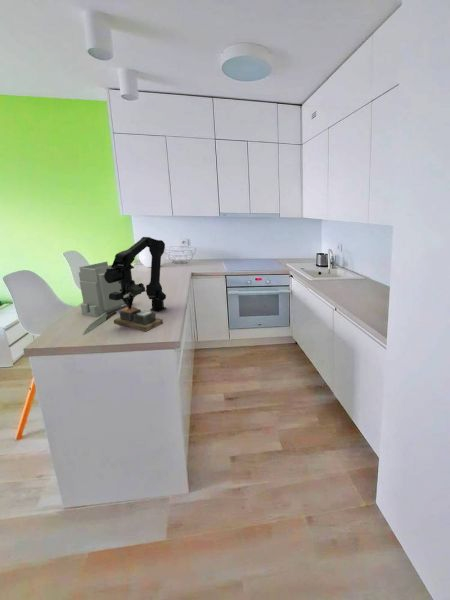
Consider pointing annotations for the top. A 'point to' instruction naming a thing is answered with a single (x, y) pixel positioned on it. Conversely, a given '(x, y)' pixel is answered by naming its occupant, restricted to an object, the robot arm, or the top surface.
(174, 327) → the top surface
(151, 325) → the button board
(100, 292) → the toaster
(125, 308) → the terracotta button
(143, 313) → the grey button
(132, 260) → the robot arm
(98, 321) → the kitchen knife
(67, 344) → the top surface
